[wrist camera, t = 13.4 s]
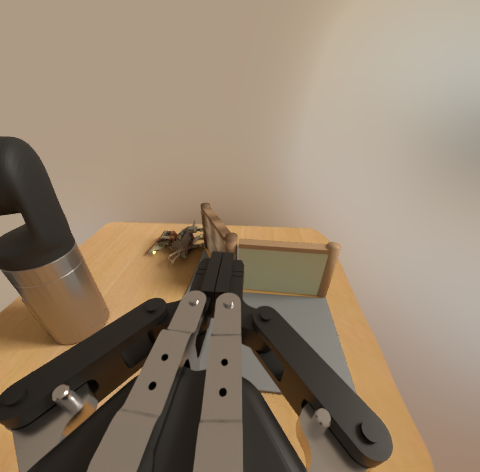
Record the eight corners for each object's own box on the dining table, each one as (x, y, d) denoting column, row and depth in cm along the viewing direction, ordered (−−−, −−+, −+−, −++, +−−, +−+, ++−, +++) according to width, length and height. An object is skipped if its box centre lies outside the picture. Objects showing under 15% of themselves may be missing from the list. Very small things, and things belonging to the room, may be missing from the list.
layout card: (150, 379, 33) (149, 377, 33) (204, 245, 65) (204, 243, 64) (357, 402, 31) (358, 400, 31) (310, 251, 62) (310, 249, 62)
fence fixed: (238, 288, 49) (239, 237, 42) (229, 291, 48) (227, 240, 41) (211, 243, 65) (208, 200, 57) (203, 245, 64) (199, 202, 56)
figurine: (202, 248, 53) (133, 258, 52) (206, 266, 56) (141, 276, 55) (203, 213, 70) (151, 220, 69) (207, 229, 73) (157, 236, 72)
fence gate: (238, 290, 48) (238, 242, 41) (239, 282, 50) (239, 236, 43) (327, 297, 47) (343, 249, 40) (324, 289, 49) (339, 242, 42)
